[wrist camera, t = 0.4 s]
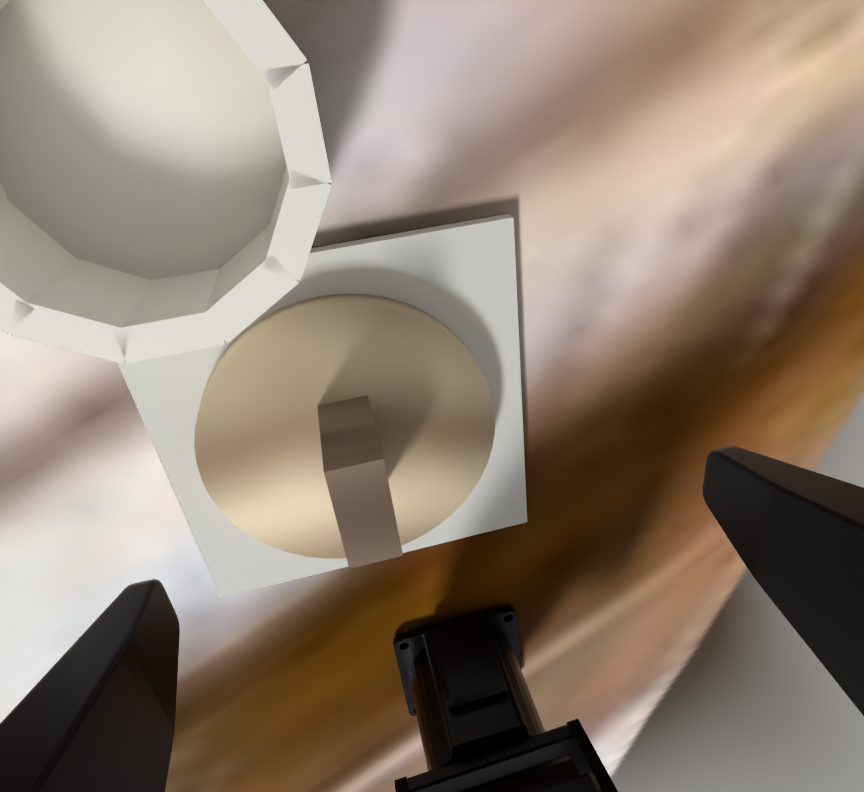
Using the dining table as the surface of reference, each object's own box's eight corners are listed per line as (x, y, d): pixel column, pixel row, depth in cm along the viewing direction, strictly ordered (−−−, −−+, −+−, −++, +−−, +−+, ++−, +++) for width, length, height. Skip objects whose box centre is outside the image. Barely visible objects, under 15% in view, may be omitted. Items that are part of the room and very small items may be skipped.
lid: (494, 504, 26) (537, 593, 22) (246, 565, 25) (237, 672, 20) (474, 266, 21) (526, 320, 16) (153, 327, 19) (114, 403, 15)
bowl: (344, 271, 20) (358, 318, 16) (40, 327, 19) (-21, 392, 15) (271, -98, 15) (266, -153, 11) (-149, -56, 14) (-313, -103, 10)
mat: (522, 513, 28) (527, 521, 27) (221, 587, 26) (220, 598, 25) (507, 213, 21) (513, 217, 20) (92, 286, 19) (86, 292, 18)
